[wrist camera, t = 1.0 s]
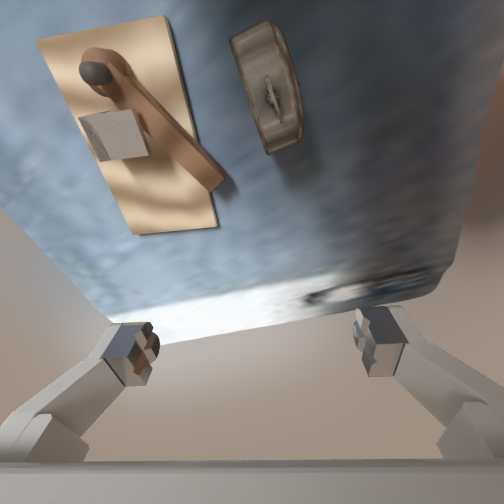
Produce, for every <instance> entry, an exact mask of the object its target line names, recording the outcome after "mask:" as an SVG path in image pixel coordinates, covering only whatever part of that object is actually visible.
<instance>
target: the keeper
mask: <svg viewBox="0 0 504 504" xmlns="http://www.w3.org/2000/svg"><path fill="white" fill-rule="evenodd" d="M78 119H79V121H80V123H81V125H82V127H83V129H84V131H85V133H86V135H87V137H88V139H89V141H90V143H91V145H92V147H93V149H94V151H95V153H96V155H97V157H98V159H99V161H100V162H104V161H111V160H119V159H126V158H134V157H141V156H149V155H150V154H151V150H150V147H149V145H148V142H147V139H146V136H145V134H144V131H143V128H142V125H141V123H140V120H139V117H138V114H137V112H136V109H135V108H132V109H125V110H119V111H112V112H110V111H103V112H97V113H93V114H89V115H85V116H81V117H78Z"/></svg>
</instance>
